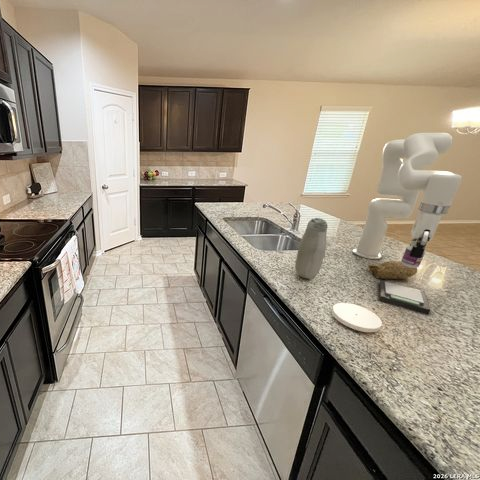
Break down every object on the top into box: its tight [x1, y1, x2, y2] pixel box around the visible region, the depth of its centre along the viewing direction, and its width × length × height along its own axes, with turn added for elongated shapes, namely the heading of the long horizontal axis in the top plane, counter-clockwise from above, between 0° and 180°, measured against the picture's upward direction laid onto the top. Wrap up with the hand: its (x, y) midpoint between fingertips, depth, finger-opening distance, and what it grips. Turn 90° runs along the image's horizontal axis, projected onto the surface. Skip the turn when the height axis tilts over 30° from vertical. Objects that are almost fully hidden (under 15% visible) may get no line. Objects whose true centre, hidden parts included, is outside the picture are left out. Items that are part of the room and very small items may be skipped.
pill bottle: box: [400, 240, 427, 269], centre depth 97 cm, size 5×5×10 cm
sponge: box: [368, 260, 418, 280], centre depth 118 cm, size 13×8×20 cm
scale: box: [378, 279, 431, 316], centre depth 101 cm, size 16×14×3 cm
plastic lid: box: [331, 302, 383, 333], centre depth 88 cm, size 14×14×2 cm
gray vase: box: [294, 217, 328, 279], centre depth 113 cm, size 10×10×28 cm
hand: (414, 254), depth 97 cm, fingers closed on pill bottle, 5 cm apart
